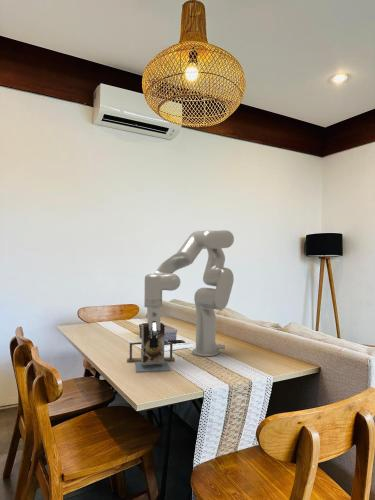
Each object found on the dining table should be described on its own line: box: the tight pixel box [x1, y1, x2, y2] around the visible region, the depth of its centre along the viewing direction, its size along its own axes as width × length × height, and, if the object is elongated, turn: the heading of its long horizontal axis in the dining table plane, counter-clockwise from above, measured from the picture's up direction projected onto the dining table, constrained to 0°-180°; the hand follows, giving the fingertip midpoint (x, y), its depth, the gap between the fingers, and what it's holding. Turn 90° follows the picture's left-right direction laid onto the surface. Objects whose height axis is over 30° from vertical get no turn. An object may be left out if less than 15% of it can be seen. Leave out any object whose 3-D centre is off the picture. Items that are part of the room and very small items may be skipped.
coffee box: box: [140, 322, 166, 365], centre depth 146 cm, size 9×6×16 cm
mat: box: [134, 361, 171, 373], centre depth 146 cm, size 14×12×1 cm
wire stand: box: [126, 341, 176, 364], centre depth 154 cm, size 21×4×8 cm, turn 96°
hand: (153, 344), depth 146 cm, fingers closed on coffee box, 6 cm apart
